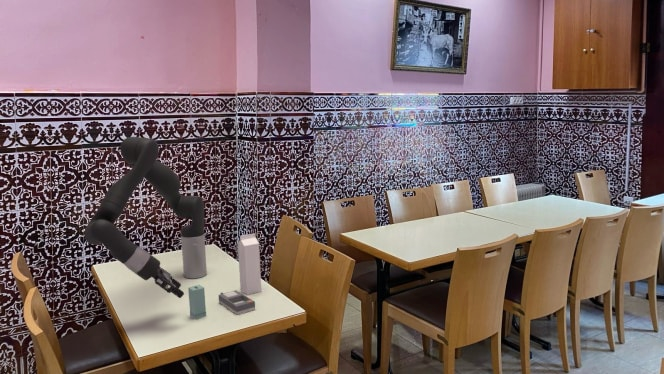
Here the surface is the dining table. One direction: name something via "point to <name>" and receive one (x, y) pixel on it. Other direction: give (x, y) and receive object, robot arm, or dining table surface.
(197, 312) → the block
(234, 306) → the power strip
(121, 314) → the dining table surface
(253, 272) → the milk
